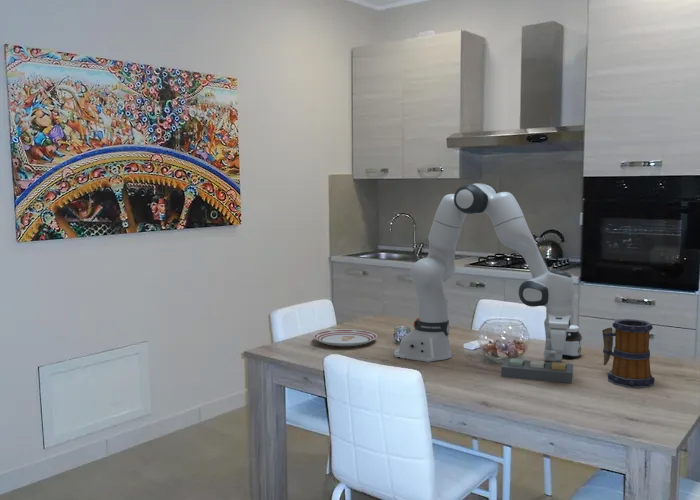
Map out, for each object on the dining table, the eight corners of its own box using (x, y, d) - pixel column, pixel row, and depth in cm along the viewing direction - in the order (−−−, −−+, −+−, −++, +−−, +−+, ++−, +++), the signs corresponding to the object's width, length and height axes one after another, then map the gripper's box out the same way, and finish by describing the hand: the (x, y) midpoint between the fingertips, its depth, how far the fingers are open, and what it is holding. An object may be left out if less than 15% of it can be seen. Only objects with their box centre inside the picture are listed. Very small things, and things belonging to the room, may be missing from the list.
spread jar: (571, 360, 234) (571, 330, 233) (544, 355, 243) (544, 325, 242) (587, 354, 242) (588, 325, 241) (560, 349, 251) (561, 320, 249)
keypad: (501, 376, 216) (501, 366, 216) (505, 368, 226) (505, 358, 226) (571, 383, 208) (572, 373, 207) (573, 374, 218) (573, 364, 218)
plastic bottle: (563, 364, 230) (564, 310, 228) (544, 363, 231) (545, 310, 229) (561, 359, 236) (562, 307, 234) (542, 358, 237) (543, 306, 235)
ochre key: (551, 370, 213) (551, 365, 213) (552, 367, 217) (552, 361, 217) (565, 372, 211) (565, 366, 211) (565, 368, 215) (565, 362, 215)
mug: (587, 374, 217) (588, 317, 215) (618, 369, 223) (619, 313, 221) (632, 391, 199) (633, 329, 197) (664, 384, 205) (667, 324, 203)
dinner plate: (338, 332, 287) (338, 325, 287) (389, 340, 271) (389, 332, 271) (300, 345, 265) (299, 337, 265) (352, 354, 249) (352, 346, 249)
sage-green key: (509, 367, 218) (509, 361, 218) (510, 363, 222) (510, 358, 222) (522, 368, 217) (522, 362, 216) (523, 364, 221) (523, 359, 220)
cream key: (530, 369, 216) (530, 363, 215) (531, 365, 220) (531, 359, 219) (543, 370, 214) (543, 364, 214) (544, 366, 218) (544, 361, 218)
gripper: (552, 311, 223) (551, 350, 225) (547, 323, 204) (547, 365, 206) (570, 312, 221) (570, 351, 222) (568, 325, 202) (567, 367, 203)
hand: (559, 358), depth 214 cm, fingers closed
